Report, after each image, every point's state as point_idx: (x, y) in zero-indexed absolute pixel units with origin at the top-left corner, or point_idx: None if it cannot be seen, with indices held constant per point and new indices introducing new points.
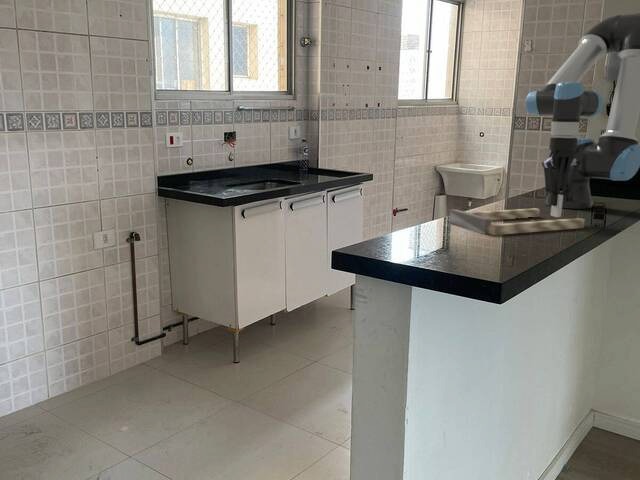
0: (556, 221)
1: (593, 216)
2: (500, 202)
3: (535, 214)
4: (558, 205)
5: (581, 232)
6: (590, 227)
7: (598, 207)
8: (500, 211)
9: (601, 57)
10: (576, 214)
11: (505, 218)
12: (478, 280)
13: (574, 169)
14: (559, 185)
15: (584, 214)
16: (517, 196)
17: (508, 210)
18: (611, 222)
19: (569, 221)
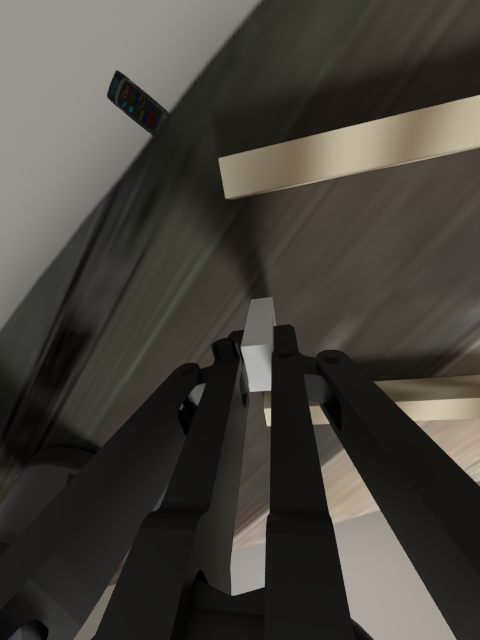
0: (431, 107)
1: (76, 364)
2: (236, 546)
3: None
4: (271, 317)
5: (312, 37)
6: (188, 174)
7: (14, 457)
8: (469, 400)
9: None
10: (115, 399)
11: (423, 380)
12: None
13: (47, 547)
14: (280, 389)
15: (91, 394)
16: None
17: (412, 411)
18: (55, 263)
19: (324, 134)
